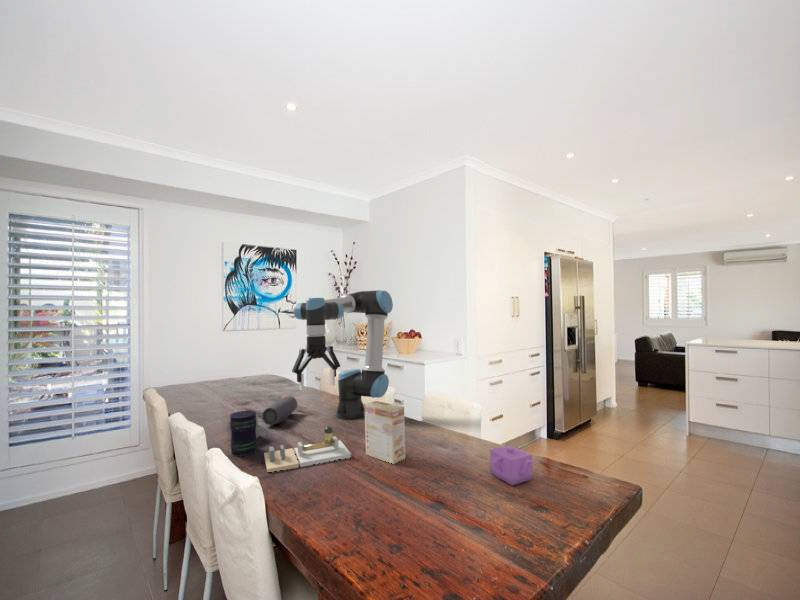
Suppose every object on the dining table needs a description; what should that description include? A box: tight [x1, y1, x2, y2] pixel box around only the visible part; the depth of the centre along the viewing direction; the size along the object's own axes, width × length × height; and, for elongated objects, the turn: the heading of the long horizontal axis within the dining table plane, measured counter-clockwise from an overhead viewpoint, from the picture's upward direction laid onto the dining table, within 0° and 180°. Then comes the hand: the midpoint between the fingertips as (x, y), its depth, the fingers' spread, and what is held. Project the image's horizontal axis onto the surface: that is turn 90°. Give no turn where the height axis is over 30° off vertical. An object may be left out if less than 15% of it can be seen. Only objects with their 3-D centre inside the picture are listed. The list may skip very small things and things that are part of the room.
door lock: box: [263, 435, 352, 473], centre depth 150 cm, size 30×16×6 cm, turn 113°
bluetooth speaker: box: [261, 395, 298, 426], centre depth 198 cm, size 23×9×10 cm, turn 172°
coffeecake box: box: [364, 400, 406, 465], centre depth 148 cm, size 15×7×20 cm, turn 47°
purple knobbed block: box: [489, 444, 534, 486], centre depth 127 cm, size 18×14×10 cm
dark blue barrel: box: [229, 410, 258, 457], centre depth 158 cm, size 10×10×15 cm
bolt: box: [303, 426, 335, 451], centre depth 152 cm, size 15×3×8 cm, turn 113°
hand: (317, 387), depth 160 cm, fingers open, 13 cm apart
